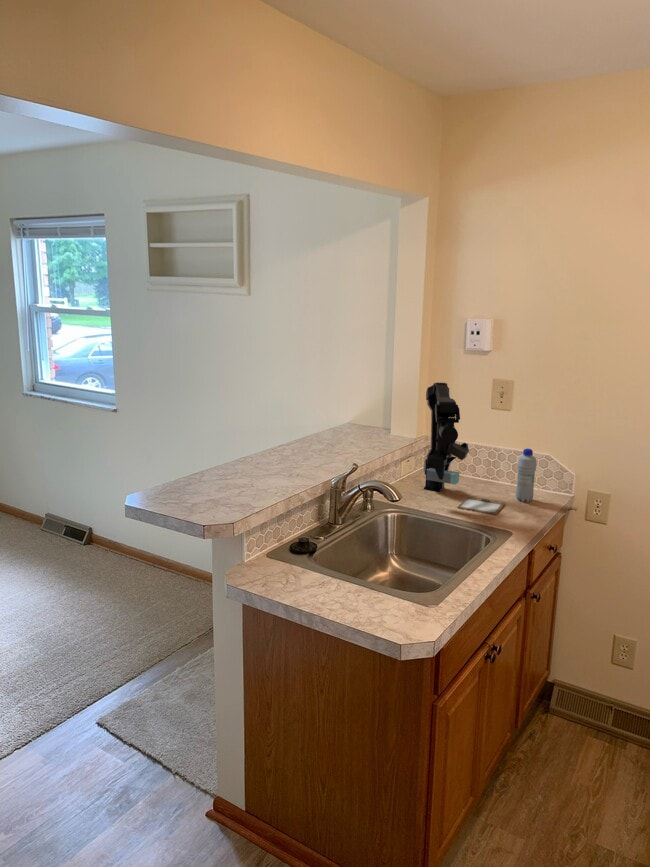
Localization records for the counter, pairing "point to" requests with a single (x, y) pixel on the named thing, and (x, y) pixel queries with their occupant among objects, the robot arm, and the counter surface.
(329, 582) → the counter surface
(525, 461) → the bottle
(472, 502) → the clipboard
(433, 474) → the teal-capped grey block
